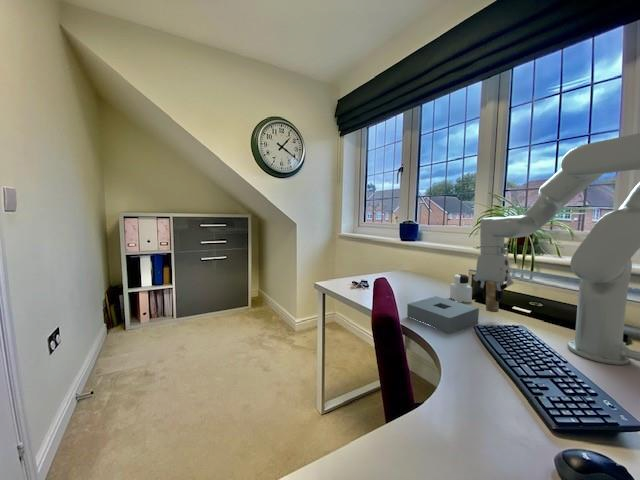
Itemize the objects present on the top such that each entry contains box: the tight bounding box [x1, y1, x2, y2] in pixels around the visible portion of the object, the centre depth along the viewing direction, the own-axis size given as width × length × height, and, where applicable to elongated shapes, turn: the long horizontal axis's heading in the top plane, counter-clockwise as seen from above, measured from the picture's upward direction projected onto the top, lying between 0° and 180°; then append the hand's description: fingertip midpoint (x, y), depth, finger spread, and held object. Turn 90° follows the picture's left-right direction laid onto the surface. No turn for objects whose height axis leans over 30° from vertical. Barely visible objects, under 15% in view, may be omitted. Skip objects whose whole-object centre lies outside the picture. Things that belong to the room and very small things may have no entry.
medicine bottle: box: [449, 273, 473, 303], centre depth 129 cm, size 7×7×12 cm
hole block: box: [406, 295, 480, 335], centre depth 106 cm, size 18×18×6 cm
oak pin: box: [485, 281, 500, 313], centre depth 103 cm, size 4×4×12 cm
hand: (492, 299), depth 103 cm, fingers closed on oak pin, 4 cm apart
